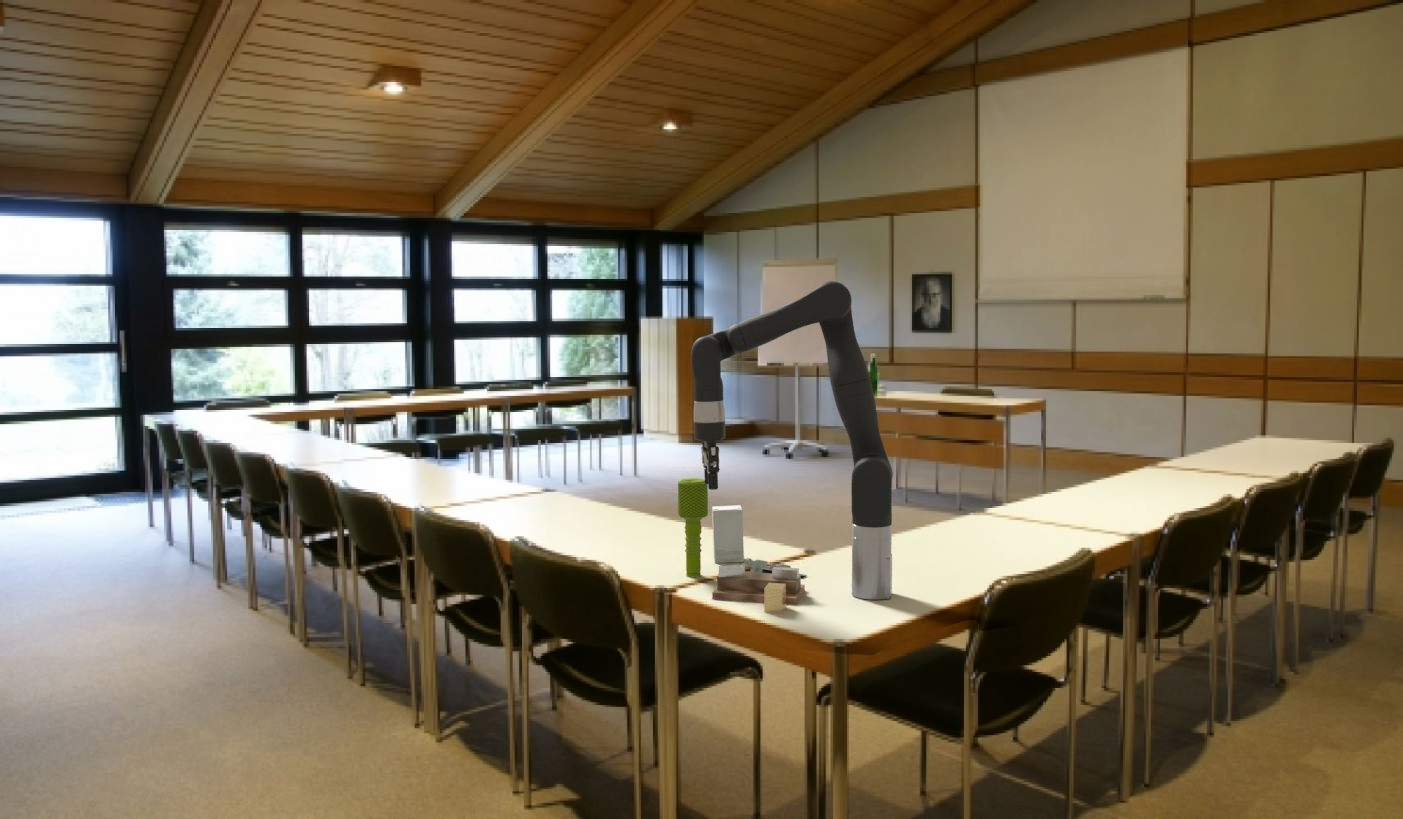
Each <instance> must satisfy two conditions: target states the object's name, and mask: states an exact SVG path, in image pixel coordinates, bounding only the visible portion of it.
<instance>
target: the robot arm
mask: <svg viewBox="0 0 1403 819" xmlns="http://www.w3.org/2000/svg"><path fill="white" fill-rule="evenodd" d="M852 312H853V311H852V294H851V292H850V290H849V289H848V287H847V286H845V284H843V283H841V282H839V281H833V280H831V281H830V280H829V281H825V282H823V283H821V284H819V286H818V287H816V288H815V289H813V290H812V291H810V292H808V293H807V294H805V295H804V296H802V297H799V298H797V299H796V300H794V301H792V302H789V303H787V304H785V305H783V306H779V307H777V308H774V309H771V310H768V311H765V312H763V313H761V314H760V313H759V314H757V315H755V316H752V317H750V318H747V319H744V320H742V321H739V322H737V323H735V324H733V325H730V327H728V328H726V329H723V330H720V331H716V332H714V333H711V334H708V335H705V336H701V337H699V338H698V339H696V340H695V341H694V342H693V344H692V347H691V366H692V372H693V381H694V382H693V395H694V396H693V403H694V405H693V432H694V433H693V438H694V439H695V440H696V441H701V445H702V446H701V448H700V450H701V451H700V452H701V461H702V462H701V463H702V467H703V470H704V472H703V473H704V480H705V483H706V484H708V489H709V490H711V491H712V490H714V491H715V490H718V488H719V480H718V479H719V477H718V476H719V475H718V474H719V472H720V447H719V446H718V445H717V441H721V440H724V439H726V408H725V403H724V402H725V400H724V383H723V379H722V377H721V376H722V375H721V374H722V371H721V370H722V368H721V366H722V365H721V362H723V361H724V360H726V359H729V358H731V357H733V356H735V355H737V354H741V353H745V352H748V351H751V350H753V349H756V348H759V347H761V346H763V345H766V344H768V343H770V342H772V341H775V340H776V339H779V338H780V337H783V336H785V335H787V334H789V333H791V332H794V331H795V330H798V329H801V328H804V327H807V326H810V325H815V324H818V323H819V326H820V330H821V332H822V333H821V334H822V335H823V338H824V342H825V348H826V355H827V356H826V357H827V368H828V374H829V380H830V386H831V390H832V394H833V400H834V401H835V406H836V409H837V412H838V414H839V417H840V419H841V422H842V424H843V427H844V428H845V431H846V433H847V436H848V439H849V444H850V448H851V454H852V462H853V470H852V474H851V487H850V488H851V489H850V490H851V493H850V494H851V517H852V518H851V520H852V522H851V525H852V526H851V595H852V596H854V597H855V598H859V599H863V600H874V601H877V600H884V599H885V600H890V599H891V597H892V593H893V554H892V532H893V530H892V527H893V525H892V524H893V523H892V520H893V512H892V510H893V508H892V492H893V490H892V486H893V484H892V482H893V475H894V472H893V468H892V465H891V463H890V460H889V458H888V455H887V452H886V449H885V446H884V443H883V440H882V437H881V433H880V429H879V420H878V412H877V405H876V400H875V395H874V390H873V385H872V381H871V375H870V374H869V370H868V367H867V363H866V361H865V358H864V355H863V352H862V350H861V348H860V345H859V343H858V340H857V336H856V331H855V327H854V320H853V319H854V318H853V313H852Z"/></svg>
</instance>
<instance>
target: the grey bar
mask: <svg viewBox="0 0 1403 819" xmlns="http://www.w3.org/2000/svg"><path fill="white" fill-rule="evenodd" d="M744 565H745V564H744ZM744 565H737V564H736V565H719V566H718V576H720V577H745V572H746V566H744ZM771 574H772V578H776V579H792V580H798V578H799V574H800V568H798V567H791V568H784V567H773V569H772V571H771Z"/></svg>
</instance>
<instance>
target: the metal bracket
mask: <svg viewBox="0 0 1403 819" xmlns="http://www.w3.org/2000/svg"><path fill="white" fill-rule="evenodd" d="M739 565H744V567H750V571H749V572H755V573H764V572H763V571H764V570H767V571H771V572H772V569H773V567H784V568H792V567H791V565H789V564H783V563H779V564H776V563H775V562H770V564H769V566H768V561H766V560H760V559H754V560H753V558H749V557H747V559H746V563H745V564H743V563H739ZM799 575H801V577H808V575H807V574H803V573H799Z"/></svg>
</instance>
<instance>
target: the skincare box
mask: <svg viewBox="0 0 1403 819" xmlns="http://www.w3.org/2000/svg"><path fill="white" fill-rule="evenodd" d="M711 514H712V517H711V520H712V543H713V547H712V548H713V559H714V564H723V563H724V564H725V563H729V564H730V563H744V562H745V552H744V550H745V549H744V522H743V521H744V518H743V508H742V506H741V504H738V505H737V504H736V505H719V506H718V505H717V506H715V505H714V506H711Z"/></svg>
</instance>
